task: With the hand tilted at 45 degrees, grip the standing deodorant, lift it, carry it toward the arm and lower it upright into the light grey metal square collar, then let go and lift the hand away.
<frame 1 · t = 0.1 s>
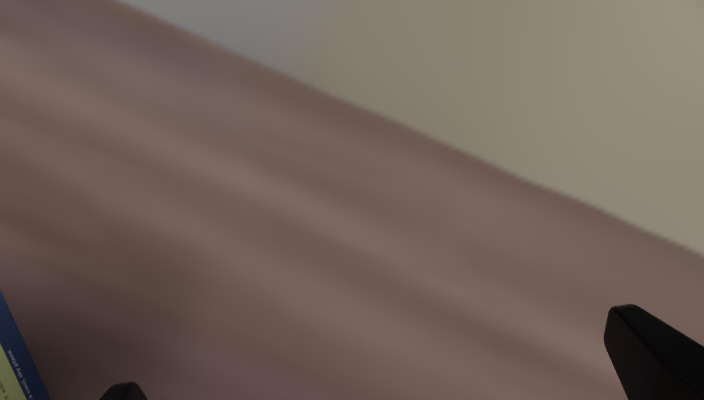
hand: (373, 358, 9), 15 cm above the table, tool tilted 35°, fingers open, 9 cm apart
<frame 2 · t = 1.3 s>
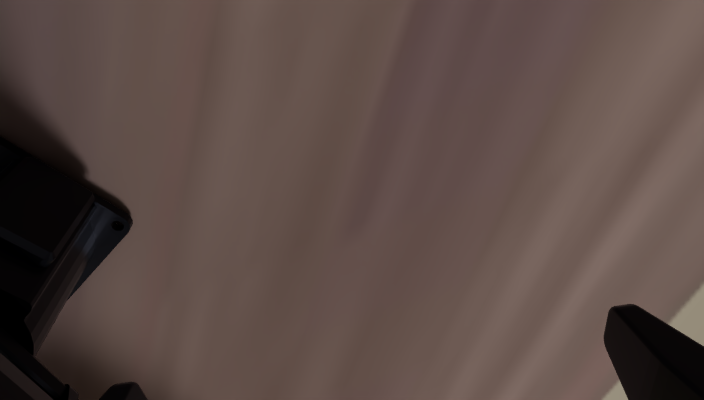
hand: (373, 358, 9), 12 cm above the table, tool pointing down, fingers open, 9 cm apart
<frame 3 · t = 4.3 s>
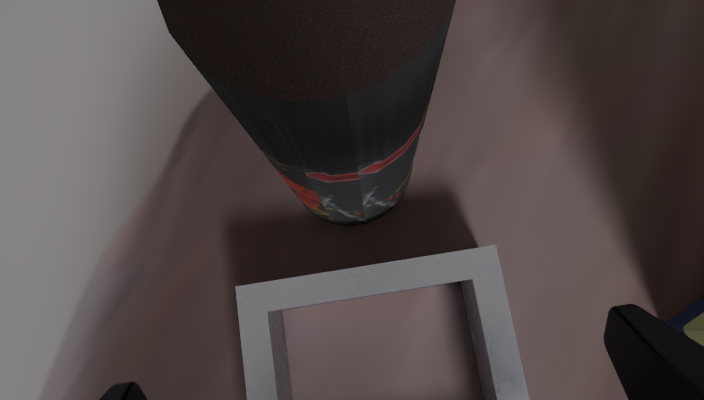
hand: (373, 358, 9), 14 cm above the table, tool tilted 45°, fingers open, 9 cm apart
deodorant: (350, 166, 24), on the table
collar: (385, 390, 22), on the table
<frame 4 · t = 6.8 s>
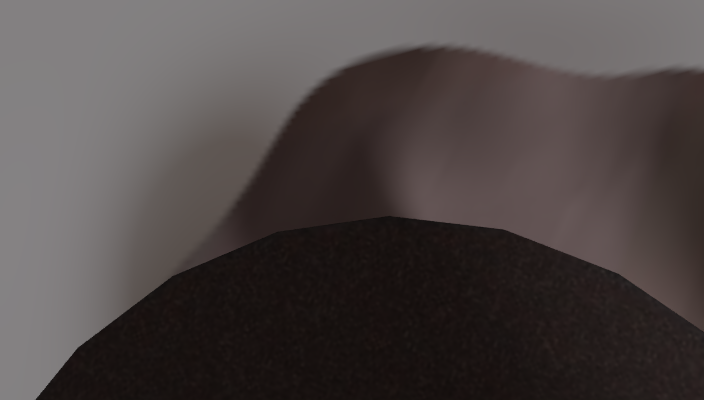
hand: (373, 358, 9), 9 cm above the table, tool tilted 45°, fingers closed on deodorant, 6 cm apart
deodorant: (381, 369, 18), on the table, touching gripper
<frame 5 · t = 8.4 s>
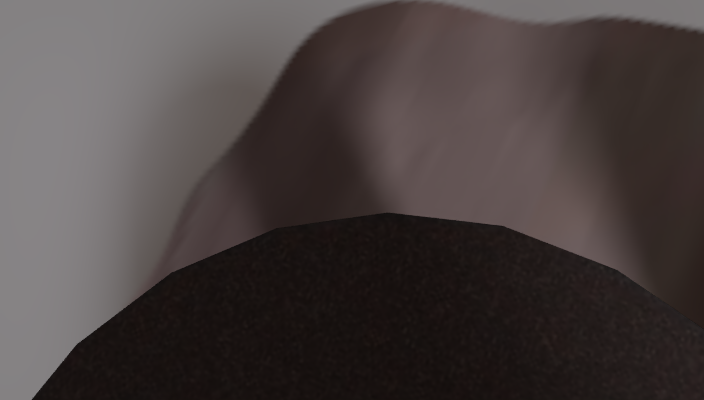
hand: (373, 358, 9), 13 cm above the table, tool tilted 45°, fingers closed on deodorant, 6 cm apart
deodorant: (381, 367, 18), point 4 cm above the table, touching gripper
when the fingers open (10 cm above the table, at t = 10.2 s): deodorant drops 1 cm, resting in collar.
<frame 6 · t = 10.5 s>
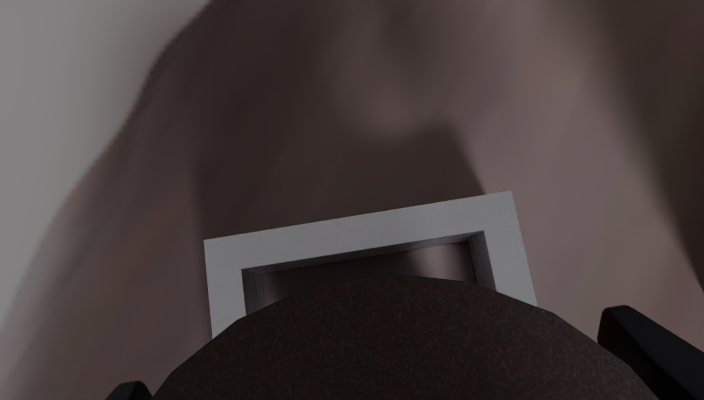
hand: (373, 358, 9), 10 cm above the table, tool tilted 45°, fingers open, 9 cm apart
deodorant: (383, 369, 19), resting in collar
collar: (381, 365, 19), on the table
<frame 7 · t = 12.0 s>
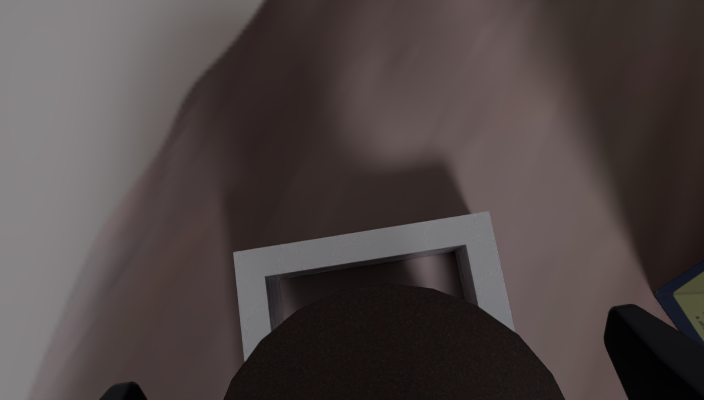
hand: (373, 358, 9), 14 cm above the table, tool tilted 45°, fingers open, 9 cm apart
deodorant: (382, 360, 22), resting in collar
collar: (381, 357, 22), on the table
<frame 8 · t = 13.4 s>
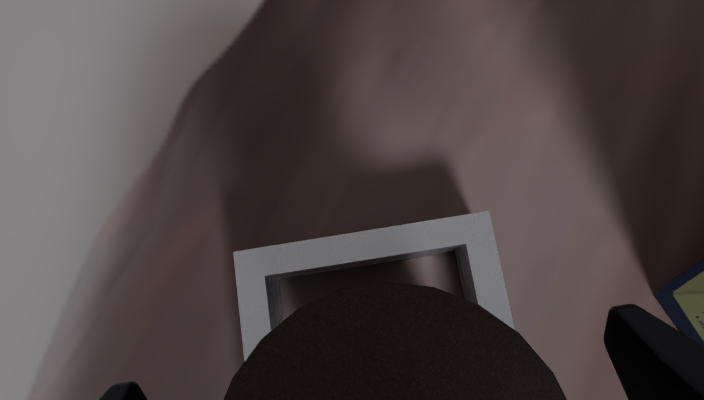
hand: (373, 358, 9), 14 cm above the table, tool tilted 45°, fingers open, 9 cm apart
deodorant: (382, 360, 22), resting in collar
collar: (381, 357, 22), on the table
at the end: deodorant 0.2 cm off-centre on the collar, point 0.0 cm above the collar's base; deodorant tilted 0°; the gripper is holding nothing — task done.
